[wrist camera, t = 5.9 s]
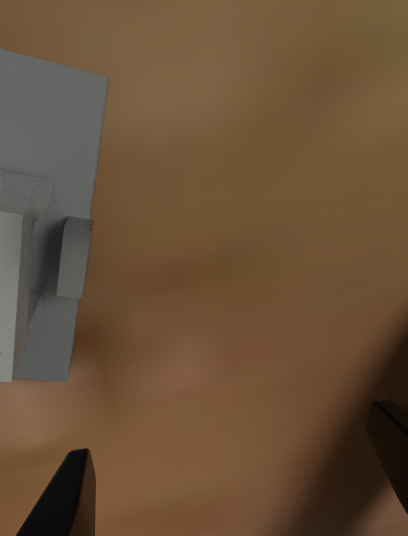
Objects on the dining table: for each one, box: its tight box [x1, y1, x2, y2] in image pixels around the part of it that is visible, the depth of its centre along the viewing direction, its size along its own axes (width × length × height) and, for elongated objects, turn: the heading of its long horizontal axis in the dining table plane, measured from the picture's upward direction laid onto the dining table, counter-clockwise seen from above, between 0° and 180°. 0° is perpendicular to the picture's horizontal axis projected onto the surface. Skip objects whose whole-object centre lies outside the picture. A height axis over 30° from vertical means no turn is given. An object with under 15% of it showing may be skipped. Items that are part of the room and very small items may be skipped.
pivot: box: [56, 216, 94, 299], centre depth 15 cm, size 5×3×2 cm, turn 76°
